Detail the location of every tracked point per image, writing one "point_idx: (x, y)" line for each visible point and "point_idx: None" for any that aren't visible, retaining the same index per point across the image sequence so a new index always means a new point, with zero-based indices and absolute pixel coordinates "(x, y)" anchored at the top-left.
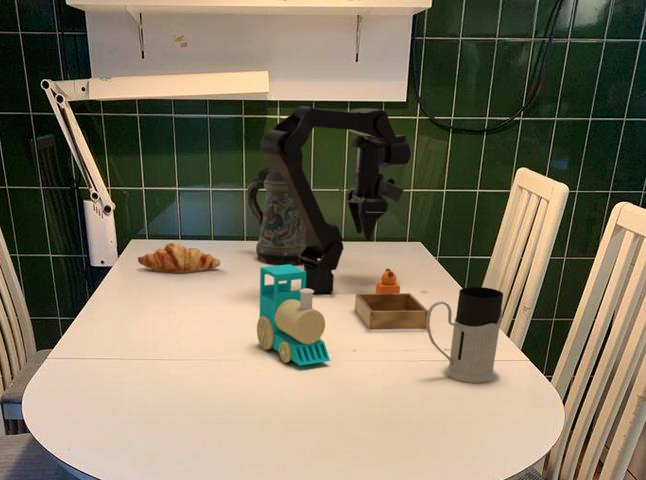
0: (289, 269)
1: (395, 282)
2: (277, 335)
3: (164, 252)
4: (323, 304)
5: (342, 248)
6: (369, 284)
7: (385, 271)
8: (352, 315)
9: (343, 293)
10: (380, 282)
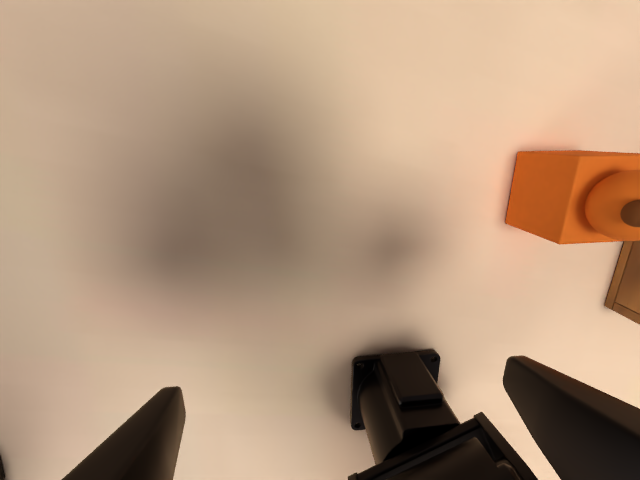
0: None
1: (594, 161)
2: None
3: None
4: None
5: (516, 476)
6: (276, 198)
7: (634, 226)
8: None
9: (401, 311)
10: (575, 230)
